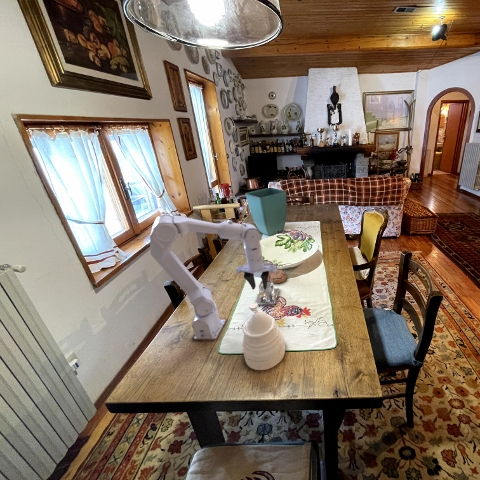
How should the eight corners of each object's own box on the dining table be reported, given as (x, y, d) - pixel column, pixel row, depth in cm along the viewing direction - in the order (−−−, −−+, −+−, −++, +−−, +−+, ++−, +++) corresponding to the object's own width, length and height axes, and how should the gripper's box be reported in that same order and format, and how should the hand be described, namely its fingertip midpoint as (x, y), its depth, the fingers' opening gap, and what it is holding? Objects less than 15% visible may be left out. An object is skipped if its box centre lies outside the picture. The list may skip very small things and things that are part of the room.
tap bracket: (274, 305, 104) (272, 290, 101) (255, 305, 104) (252, 290, 101) (279, 290, 113) (277, 276, 110) (261, 290, 114) (259, 277, 111)
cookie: (277, 286, 116) (276, 281, 115) (262, 280, 122) (261, 274, 121) (292, 277, 123) (291, 271, 122) (277, 270, 129) (276, 265, 128)
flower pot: (266, 239, 166) (260, 197, 155) (251, 232, 180) (244, 193, 168) (290, 230, 178) (286, 191, 167) (275, 224, 192) (270, 187, 180)
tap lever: (263, 298, 97) (262, 292, 97) (256, 298, 98) (256, 292, 97) (270, 288, 108) (270, 282, 108) (264, 288, 108) (264, 283, 108)
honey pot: (237, 353, 82) (226, 309, 75) (270, 332, 90) (263, 290, 83) (258, 378, 74) (248, 331, 66) (293, 351, 82) (287, 307, 74)
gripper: (276, 251, 95) (280, 281, 101) (238, 252, 96) (244, 282, 102) (272, 260, 89) (276, 292, 94) (231, 261, 90) (238, 292, 95)
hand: (259, 288), depth 97 cm, fingers open, 4 cm apart
